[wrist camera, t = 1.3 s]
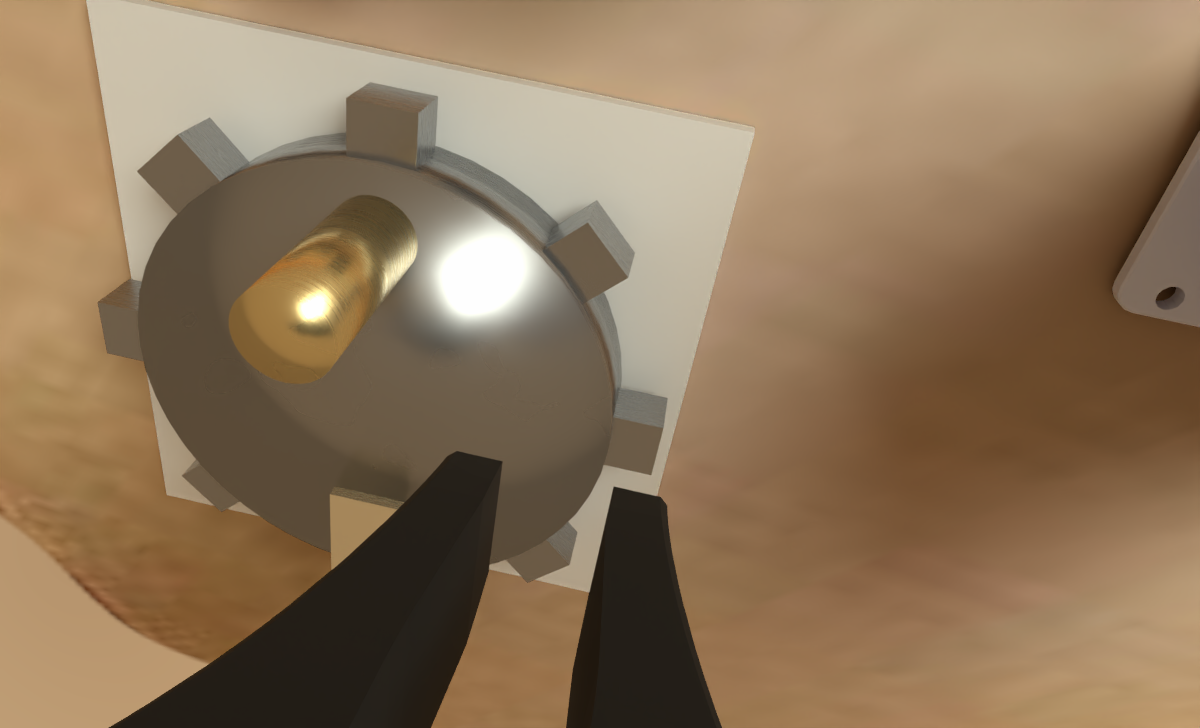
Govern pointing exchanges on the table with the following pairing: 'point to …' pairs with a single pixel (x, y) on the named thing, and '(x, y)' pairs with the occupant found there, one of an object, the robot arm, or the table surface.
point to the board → (465, 127)
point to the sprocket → (381, 331)
